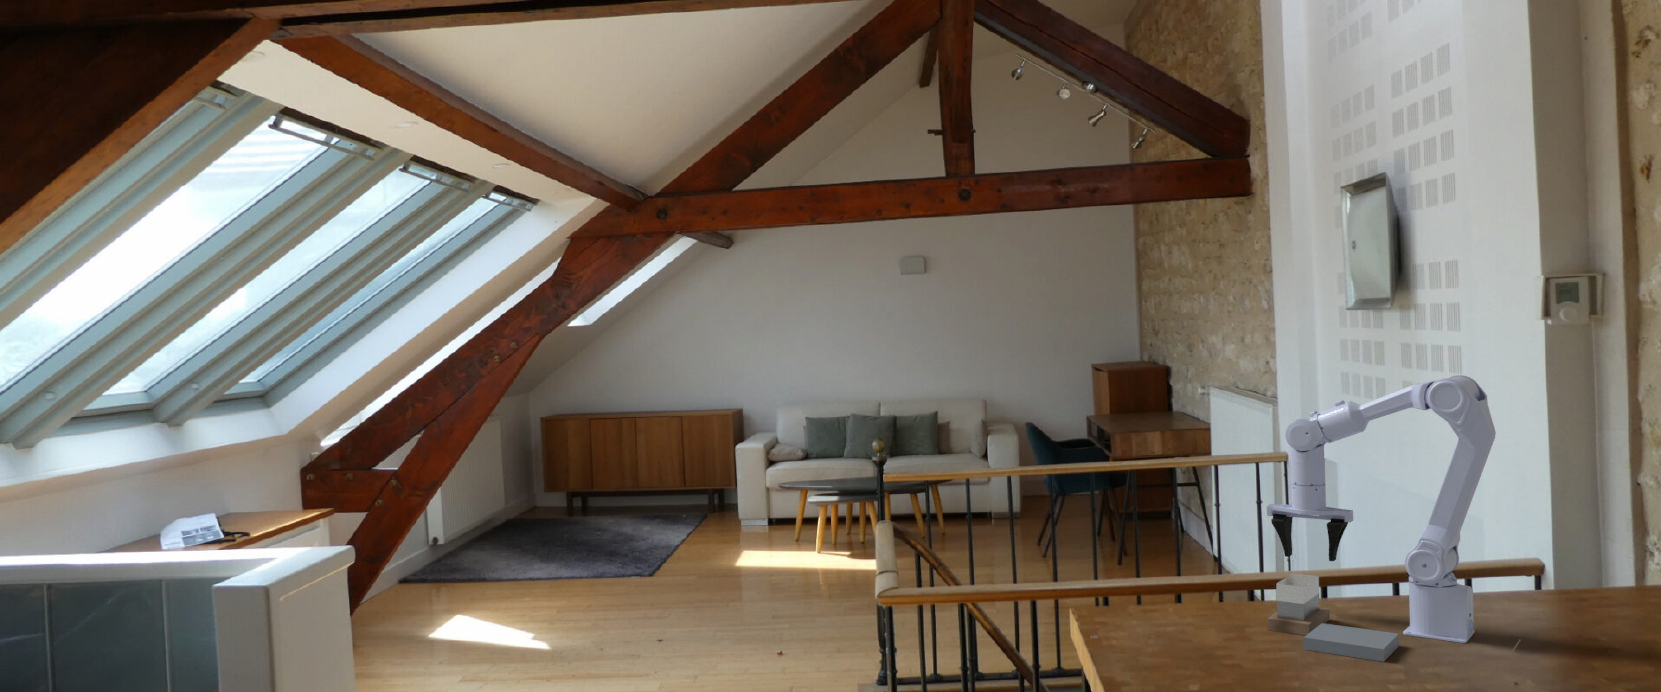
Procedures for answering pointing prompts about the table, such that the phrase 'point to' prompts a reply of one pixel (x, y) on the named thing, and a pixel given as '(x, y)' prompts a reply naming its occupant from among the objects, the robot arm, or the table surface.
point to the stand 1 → (1298, 623)
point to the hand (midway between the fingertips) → (1310, 557)
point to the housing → (1297, 597)
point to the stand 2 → (1352, 642)
